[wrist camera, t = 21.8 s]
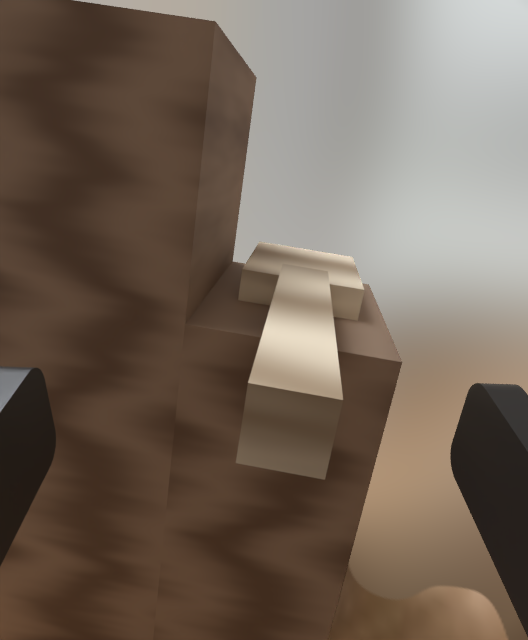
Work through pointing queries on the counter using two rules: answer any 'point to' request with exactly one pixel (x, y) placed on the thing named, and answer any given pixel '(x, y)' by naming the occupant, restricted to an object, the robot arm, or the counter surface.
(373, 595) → the counter surface
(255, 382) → the l-shaped block
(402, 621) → the counter surface
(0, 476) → the robot arm
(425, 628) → the counter surface
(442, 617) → the counter surface
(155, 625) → the walnut step stand
